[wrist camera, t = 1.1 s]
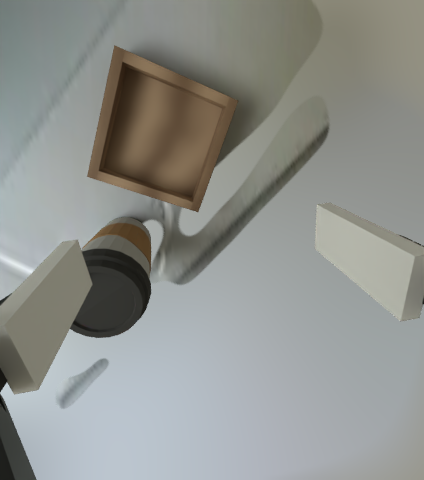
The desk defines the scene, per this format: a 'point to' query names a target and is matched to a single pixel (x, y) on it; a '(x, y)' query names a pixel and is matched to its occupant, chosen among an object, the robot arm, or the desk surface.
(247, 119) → the desk surface
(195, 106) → the tray
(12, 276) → the desk surface
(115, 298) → the coffee cup
